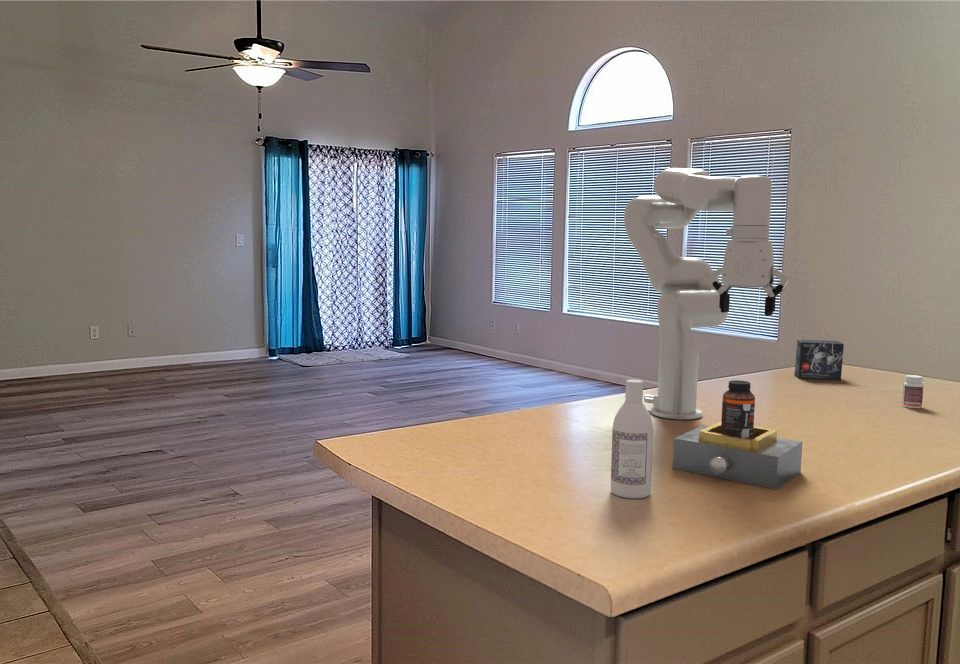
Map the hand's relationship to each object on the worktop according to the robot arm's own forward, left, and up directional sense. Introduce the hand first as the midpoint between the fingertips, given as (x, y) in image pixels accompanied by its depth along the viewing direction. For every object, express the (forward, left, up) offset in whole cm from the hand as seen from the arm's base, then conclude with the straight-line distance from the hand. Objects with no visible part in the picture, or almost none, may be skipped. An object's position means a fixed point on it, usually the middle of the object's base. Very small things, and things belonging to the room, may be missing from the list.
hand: (746, 313), depth 176 cm
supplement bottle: (+8, -23, -22) cm, 33 cm away
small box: (-11, +97, -29) cm, 102 cm away
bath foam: (-1, -49, -28) cm, 57 cm away
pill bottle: (+22, +67, -28) cm, 76 cm away
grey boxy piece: (+8, -25, -28) cm, 38 cm away
